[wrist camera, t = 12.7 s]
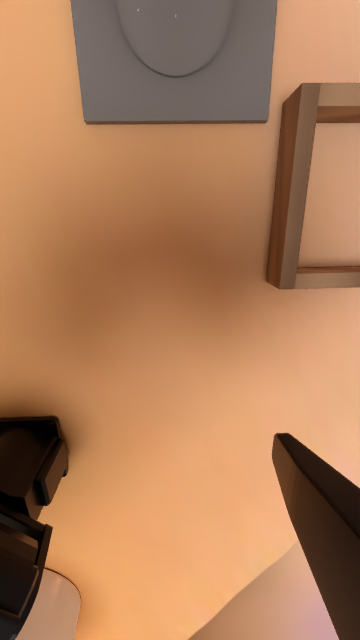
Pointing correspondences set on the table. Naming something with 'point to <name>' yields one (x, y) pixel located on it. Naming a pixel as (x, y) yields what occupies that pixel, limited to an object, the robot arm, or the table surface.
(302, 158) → the brown square tray
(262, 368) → the table surface
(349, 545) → the robot arm
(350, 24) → the table surface
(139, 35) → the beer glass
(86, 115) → the rubber mat
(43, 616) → the utensil holder
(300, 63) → the table surface
